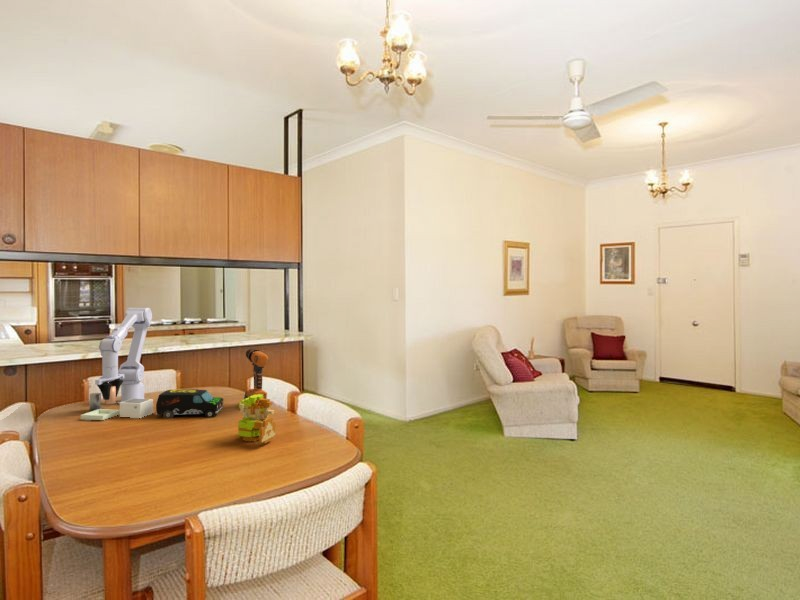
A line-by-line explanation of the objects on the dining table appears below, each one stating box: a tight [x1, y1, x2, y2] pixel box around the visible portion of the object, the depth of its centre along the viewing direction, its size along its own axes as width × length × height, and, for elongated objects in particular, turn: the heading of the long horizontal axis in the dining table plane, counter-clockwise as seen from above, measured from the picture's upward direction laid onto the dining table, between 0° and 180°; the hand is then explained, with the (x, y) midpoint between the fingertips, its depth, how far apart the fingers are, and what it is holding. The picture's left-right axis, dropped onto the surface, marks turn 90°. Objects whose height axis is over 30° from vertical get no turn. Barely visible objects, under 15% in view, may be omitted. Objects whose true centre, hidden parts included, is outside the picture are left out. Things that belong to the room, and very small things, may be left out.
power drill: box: [243, 348, 270, 400], centre depth 213 cm, size 22×7×25 cm, turn 35°
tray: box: [80, 408, 120, 421], centre depth 189 cm, size 10×10×2 cm
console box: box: [119, 398, 154, 419], centre depth 192 cm, size 8×9×6 cm
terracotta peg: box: [104, 386, 117, 405], centre depth 199 cm, size 4×4×7 cm
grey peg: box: [89, 392, 102, 412], centre depth 200 cm, size 4×4×7 cm
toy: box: [237, 394, 276, 444], centre depth 164 cm, size 15×14×15 cm
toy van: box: [155, 388, 224, 419], centre depth 195 cm, size 11×25×10 cm, turn 97°
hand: (110, 398), depth 199 cm, fingers closed on terracotta peg, 4 cm apart
